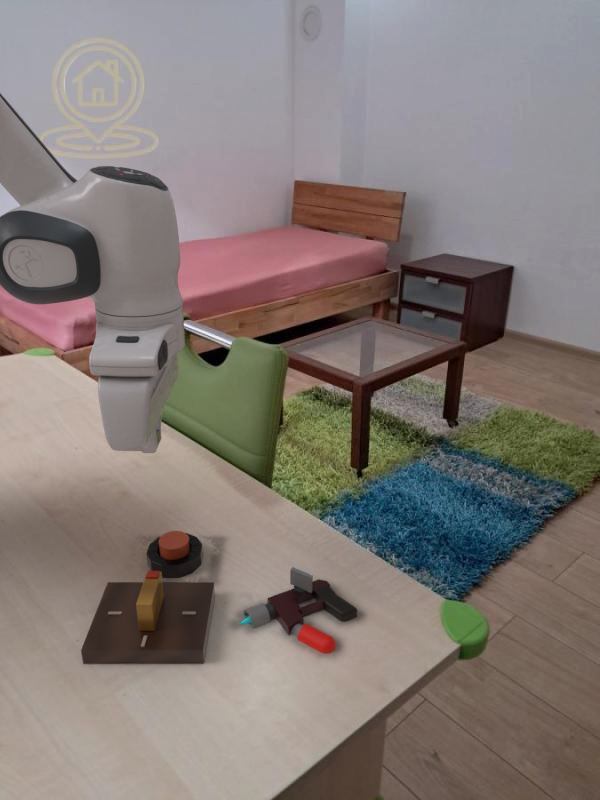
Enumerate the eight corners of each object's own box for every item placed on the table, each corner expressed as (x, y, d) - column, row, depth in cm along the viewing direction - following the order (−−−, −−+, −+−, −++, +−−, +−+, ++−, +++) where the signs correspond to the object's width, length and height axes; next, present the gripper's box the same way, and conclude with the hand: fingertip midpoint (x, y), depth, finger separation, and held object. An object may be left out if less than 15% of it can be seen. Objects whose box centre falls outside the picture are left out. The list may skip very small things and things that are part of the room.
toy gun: (232, 623, 70) (231, 588, 68) (326, 587, 75) (327, 554, 73) (271, 687, 62) (271, 650, 60) (372, 642, 67) (375, 607, 65)
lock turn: (154, 631, 64) (151, 602, 63) (139, 631, 64) (135, 602, 63) (164, 597, 69) (161, 569, 67) (149, 596, 69) (146, 569, 67)
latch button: (157, 560, 75) (155, 548, 74) (162, 542, 78) (161, 530, 78) (187, 560, 75) (186, 549, 75) (191, 542, 79) (191, 530, 78)
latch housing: (128, 590, 74) (125, 570, 73) (142, 548, 82) (140, 528, 80) (213, 590, 74) (212, 570, 73) (220, 548, 82) (219, 529, 80)
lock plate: (84, 672, 63) (80, 649, 62) (110, 602, 72) (107, 580, 71) (204, 672, 63) (202, 649, 62) (215, 602, 73) (214, 580, 71)
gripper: (134, 303, 76) (143, 407, 82) (82, 365, 57) (99, 495, 63) (187, 304, 76) (192, 408, 82) (152, 367, 57) (162, 496, 63)
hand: (151, 447), depth 72 cm, fingers closed
